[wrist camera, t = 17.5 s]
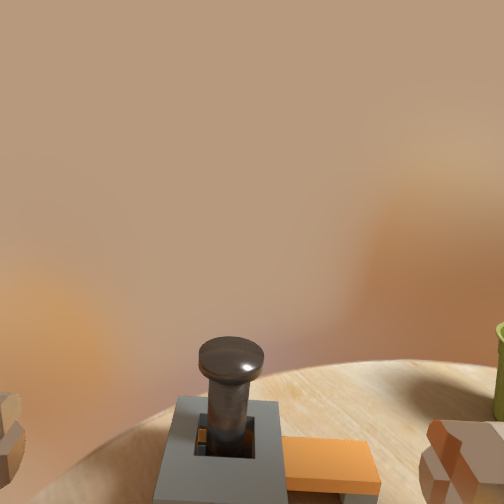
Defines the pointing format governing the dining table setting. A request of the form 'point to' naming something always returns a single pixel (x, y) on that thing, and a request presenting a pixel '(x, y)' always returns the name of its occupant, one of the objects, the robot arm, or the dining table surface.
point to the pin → (228, 391)
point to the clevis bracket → (259, 462)
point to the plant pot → (499, 377)
